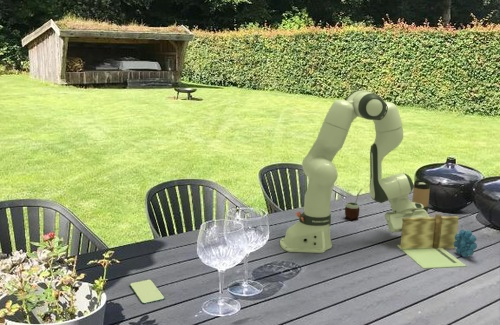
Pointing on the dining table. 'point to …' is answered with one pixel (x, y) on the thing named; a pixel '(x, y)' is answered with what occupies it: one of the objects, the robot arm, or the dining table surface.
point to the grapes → (465, 243)
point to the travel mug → (421, 193)
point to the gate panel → (417, 232)
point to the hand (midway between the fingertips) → (416, 238)
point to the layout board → (432, 257)
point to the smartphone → (146, 291)
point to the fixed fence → (445, 231)
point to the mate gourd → (352, 210)
